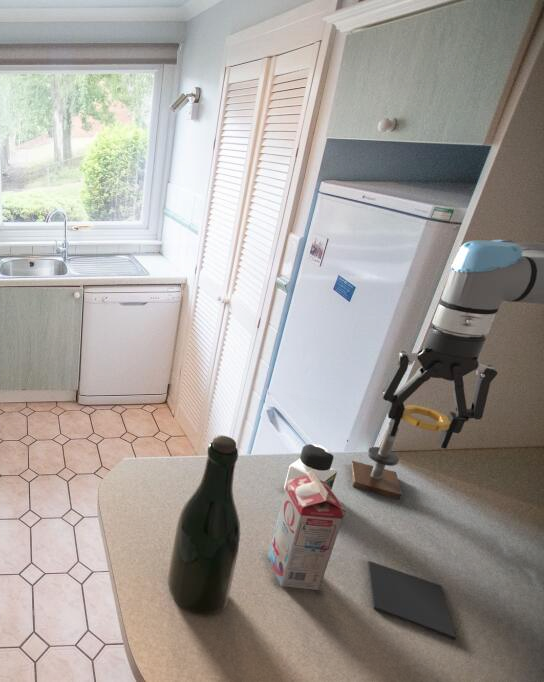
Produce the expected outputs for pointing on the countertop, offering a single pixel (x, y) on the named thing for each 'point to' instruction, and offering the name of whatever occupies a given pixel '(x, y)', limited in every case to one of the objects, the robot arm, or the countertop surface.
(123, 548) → the countertop surface
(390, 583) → the rubber mat
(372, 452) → the peg stand
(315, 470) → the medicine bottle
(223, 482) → the green wine bottle
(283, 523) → the juice carton
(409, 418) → the brass ring
